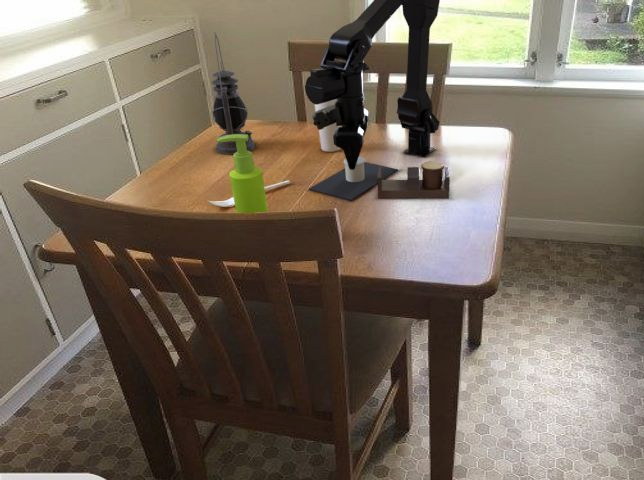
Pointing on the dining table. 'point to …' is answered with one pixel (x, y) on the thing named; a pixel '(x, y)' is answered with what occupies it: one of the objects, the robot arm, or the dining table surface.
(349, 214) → the dining table surface
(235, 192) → the soap dispenser
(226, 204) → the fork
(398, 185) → the pod rack
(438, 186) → the cylinder
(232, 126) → the lantern
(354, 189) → the mat
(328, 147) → the drinking glass
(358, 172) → the coffee pod
